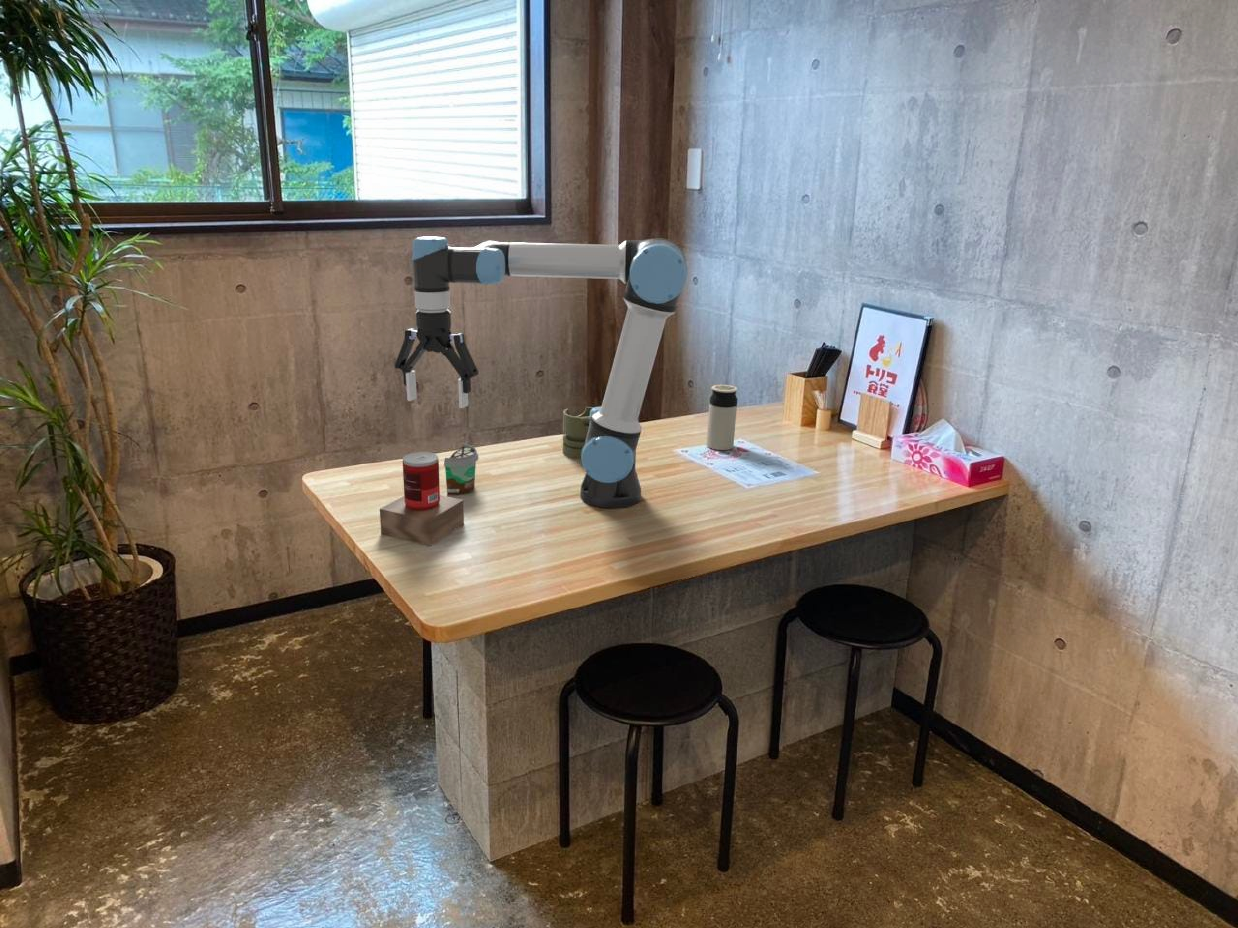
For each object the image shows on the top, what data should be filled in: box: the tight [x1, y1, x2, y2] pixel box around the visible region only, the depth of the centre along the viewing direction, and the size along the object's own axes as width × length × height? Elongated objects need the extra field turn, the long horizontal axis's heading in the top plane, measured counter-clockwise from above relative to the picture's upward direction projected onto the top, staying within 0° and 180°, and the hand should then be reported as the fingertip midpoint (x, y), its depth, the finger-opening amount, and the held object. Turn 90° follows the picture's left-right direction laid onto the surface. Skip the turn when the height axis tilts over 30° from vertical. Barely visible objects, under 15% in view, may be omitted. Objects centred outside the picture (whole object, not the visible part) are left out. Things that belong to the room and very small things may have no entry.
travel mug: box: [706, 384, 738, 451], centre depth 257 cm, size 8×8×18 cm
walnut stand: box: [379, 494, 465, 547], centre depth 197 cm, size 13×13×6 cm
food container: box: [443, 443, 479, 496], centre depth 219 cm, size 12×6×10 cm, turn 168°
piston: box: [562, 406, 594, 460], centre depth 249 cm, size 11×12×11 cm
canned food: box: [402, 451, 441, 511], centre depth 194 cm, size 8×8×11 cm
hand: (437, 403), depth 200 cm, fingers open, 13 cm apart
